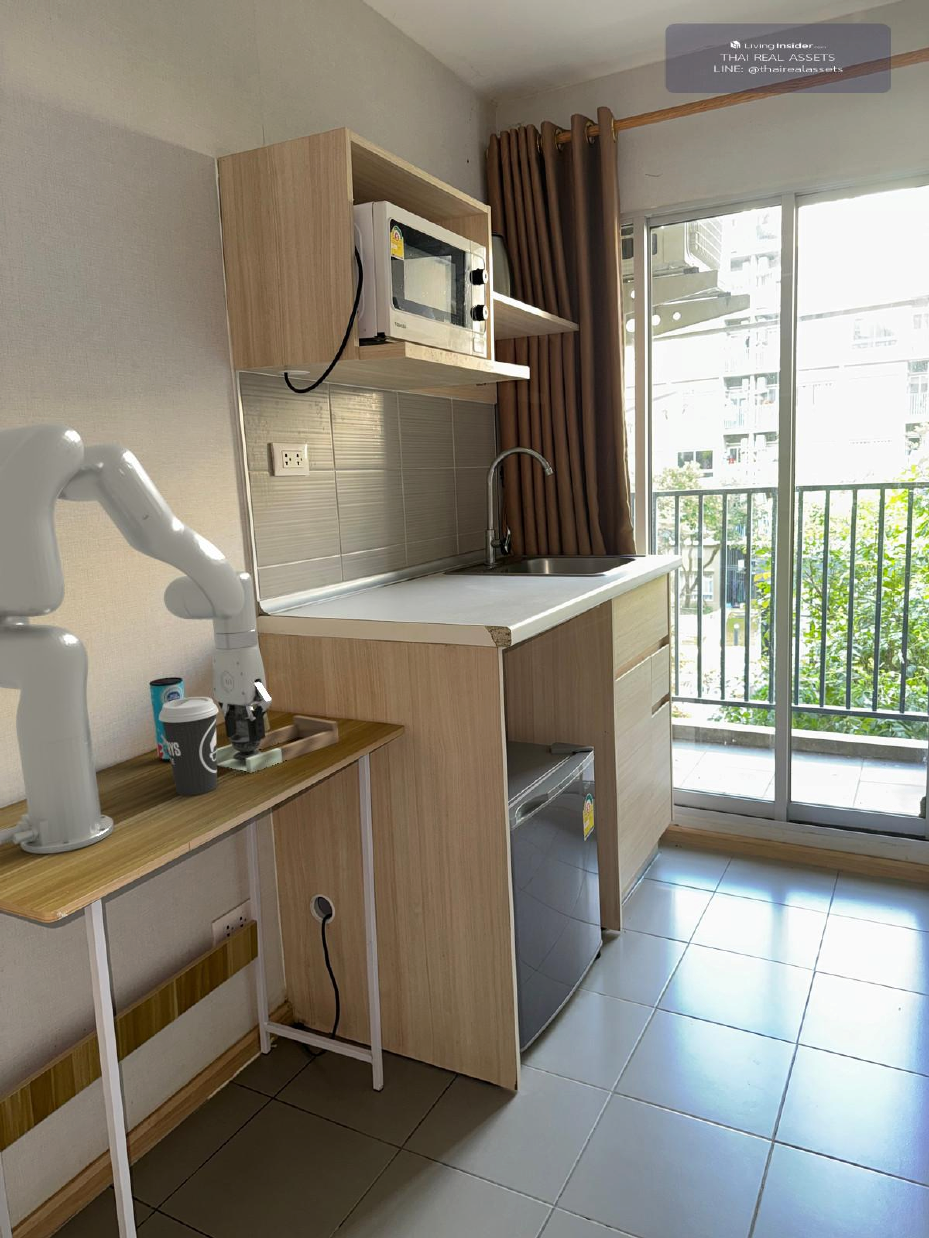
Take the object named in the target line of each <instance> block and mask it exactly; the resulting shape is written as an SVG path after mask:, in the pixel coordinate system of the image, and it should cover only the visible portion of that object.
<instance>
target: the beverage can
mask: <svg viewBox="0 0 929 1238" xmlns="http://www.w3.org/2000/svg"><path fill="white" fill-rule="evenodd" d="M149 691H150V700H151V708H152V709H151V710H152V717H153V725H154V726H153V727H154V734H155V742H156V750H157V757H158V759H159V760H160V761H162V762H171V760H170V755H169V751H168V746H167V741H166V737H165V732H164V727H163V723H162V721H160V720H159V714H160V712H161V711H162V707H163V704H165V703H167V702H169V701H172V700H176V699H181V698H186V697H185V691H184V683H183V678H182V677H176V676H175V677H162V678H157V679H154V680H151V681H150V682H149Z"/></svg>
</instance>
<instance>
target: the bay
mask: <svg viewBox="0 0 929 1238" xmlns="http://www.w3.org/2000/svg"><path fill="white" fill-rule="evenodd" d="M338 727H339V726H338V721H334V720H328V719H321V718H317V717H316V718H315V717H310V716H305V715H298V714H297V715H294V716H293V723H292V724H290V725H287V726H284V727H280V728H278V729H274V730H271V731H269V732H268V731H267V732H265V738H264V739H261V742H260V745H259V746H258V748H257V749H255V750H259V749H261V750H263V749H266V748H269V746H270V747H274V746H276V745H279V744H281V743H285V742H288V741H290V740H293V739H297V738H302V739H299V740H296V741H293V742H291V743H287V744H284V745H281V746H279V747H276V748H273V749H269V750H267V751H264V752H262V753H261V754H258V755H255V756H252V757H249V758H246V760H236V759H233V756H234V755H235V754H236V753H238V752H240V751H237V750H236V749H234V747H233V746H232V743H230V744H227V745H225V746H222V747H219V748H218V747H217V748H216V752H217V766H219V767H222V768H227V767H229V768H228V769H231V768H232V770H235V769H236V771H240V770H243V771H242V772H244V771H246V772H245V773H248V772H249V774H253V773H252V772H254V773H256V772H258V771H257V770H259V771H262V770H265V769H267V768H270V767H273V766H275V764H276V765H278V764H277V763H279V764H281V763H284V762H286V761H285V760H287V761H289V760H293V759H295V758H298V757H300V756H303V755H306V754H309V753H312V752H315V751H317V750H320V749H322V748H326V747H328V746H331V745H334V744H336V743H339V742H340V741H339V728H338ZM278 743H279V744H278ZM259 751H260V750H259ZM283 761H284V762H283ZM272 765H273V766H272ZM266 767H267V768H266ZM264 768H265V769H264ZM255 771H256V772H255Z"/></svg>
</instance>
